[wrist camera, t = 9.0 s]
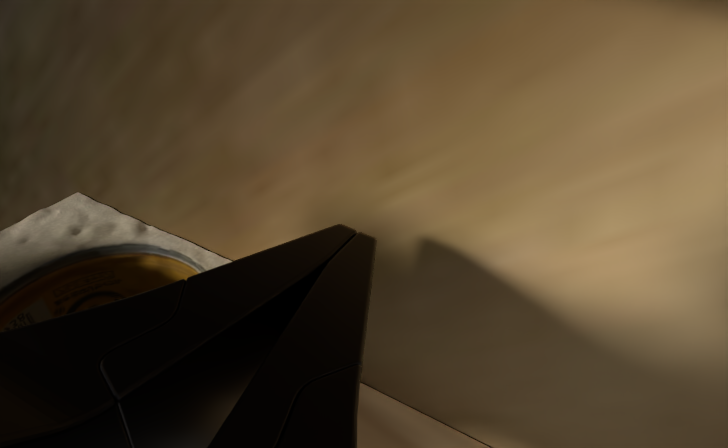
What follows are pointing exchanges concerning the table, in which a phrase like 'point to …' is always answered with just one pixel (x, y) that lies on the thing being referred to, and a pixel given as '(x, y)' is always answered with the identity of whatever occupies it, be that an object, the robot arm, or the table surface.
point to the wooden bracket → (402, 426)
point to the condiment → (86, 261)
